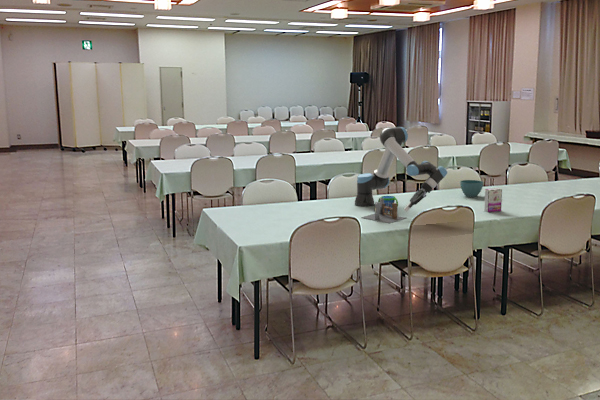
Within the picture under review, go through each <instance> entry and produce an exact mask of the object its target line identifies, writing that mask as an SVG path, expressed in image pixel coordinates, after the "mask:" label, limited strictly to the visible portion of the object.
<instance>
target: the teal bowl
mask: <svg viewBox="0 0 600 400" xmlns="http://www.w3.org/2000/svg"><path fill="white" fill-rule="evenodd" d="M459 184H460V188H461V191H462V194H464V196H465V198H466V197H467V198H476V197H478V195H480V193H481V192H482V189H483V186H484V181H482V180H475V179H474V180H473V179H464V180H460V181H459Z"/></svg>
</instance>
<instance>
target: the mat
mask: <svg viewBox="0 0 600 400" xmlns="http://www.w3.org/2000/svg"><path fill="white" fill-rule="evenodd" d="M360 217H361V216H360ZM360 219H365V220H370V221H376V222H381V223H387V224H393V223H396V222H398V221H403V220H405V219H407V217H405V216H399V215H397V219H393V218H392V217H391V216H388V215H380V216H379V220H375V213H372V214H368V215H365V216H362V217H361V218H360Z"/></svg>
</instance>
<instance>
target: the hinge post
mask: <svg viewBox="0 0 600 400" xmlns="http://www.w3.org/2000/svg"><path fill="white" fill-rule="evenodd" d="M379 198H380V197H379ZM383 204H384V198H380V215H383Z"/></svg>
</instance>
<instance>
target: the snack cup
mask: <svg viewBox="0 0 600 400" xmlns="http://www.w3.org/2000/svg"><path fill="white" fill-rule="evenodd" d="M380 198H384V204H385V206H387V207H390V208H392V203H397V208H398V207H399V201H398V199H397V198H396V196H395V195H394V196H393V195H381V196H380V197H379V198H378V200H377V202H380ZM385 212H386V208H385ZM388 212H390V209H388ZM391 212H392V210H391Z"/></svg>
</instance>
